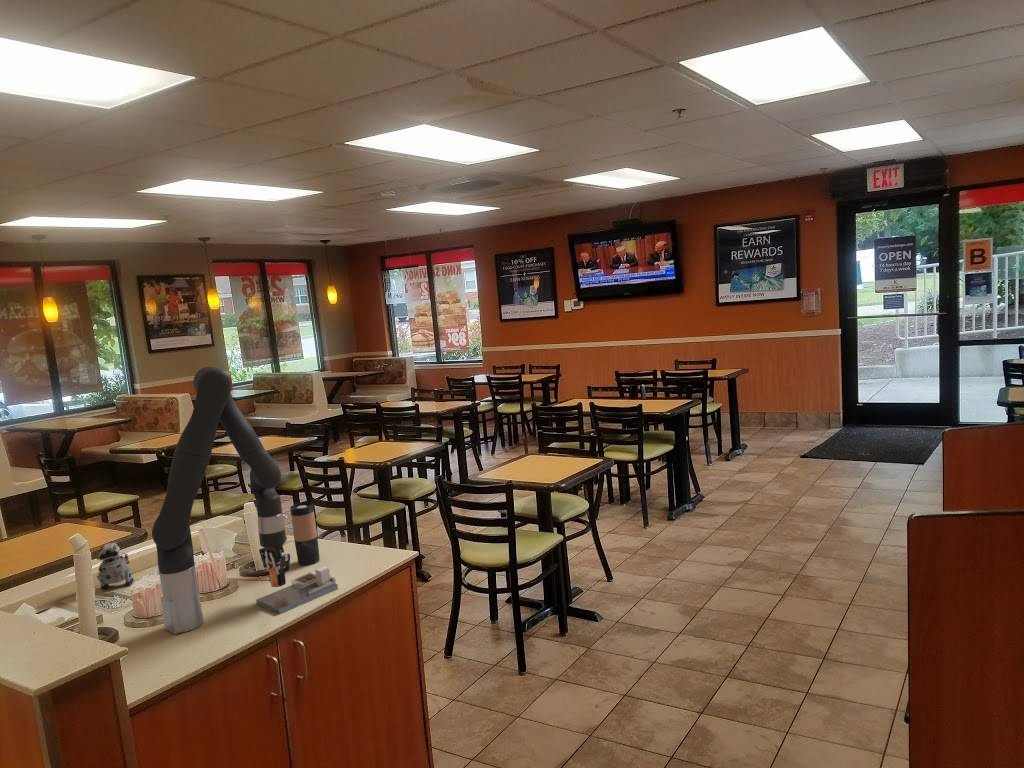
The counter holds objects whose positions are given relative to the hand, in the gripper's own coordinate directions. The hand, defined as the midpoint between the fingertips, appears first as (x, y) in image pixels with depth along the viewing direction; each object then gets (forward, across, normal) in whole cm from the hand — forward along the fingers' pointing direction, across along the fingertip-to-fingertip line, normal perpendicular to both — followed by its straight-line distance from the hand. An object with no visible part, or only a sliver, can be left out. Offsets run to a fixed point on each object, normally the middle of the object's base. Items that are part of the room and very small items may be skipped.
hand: (277, 583), depth 218 cm
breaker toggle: (+3, -7, -11) cm, 14 cm away
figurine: (+6, +61, +24) cm, 66 cm away
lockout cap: (0, 0, 0) cm, 0 cm away
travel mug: (+5, +19, -23) cm, 30 cm away
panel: (+5, -4, -4) cm, 7 cm away
